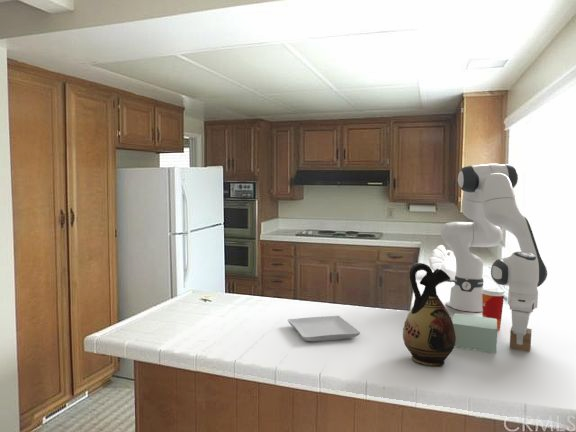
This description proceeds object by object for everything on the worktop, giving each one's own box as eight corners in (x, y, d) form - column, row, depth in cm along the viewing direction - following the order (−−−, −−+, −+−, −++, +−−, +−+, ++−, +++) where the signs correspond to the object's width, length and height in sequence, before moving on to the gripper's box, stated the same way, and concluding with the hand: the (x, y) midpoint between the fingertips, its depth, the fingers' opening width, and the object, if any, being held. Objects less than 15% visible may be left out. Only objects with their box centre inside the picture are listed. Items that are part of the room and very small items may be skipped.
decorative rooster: (460, 277, 275) (462, 237, 273) (472, 282, 259) (474, 240, 257) (421, 276, 273) (423, 236, 271) (431, 282, 257) (433, 239, 256)
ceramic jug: (442, 351, 144) (446, 260, 142) (463, 370, 129) (467, 268, 127) (391, 351, 144) (394, 259, 142) (405, 370, 128) (409, 267, 126)
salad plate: (303, 346, 147) (303, 336, 147) (286, 327, 168) (286, 318, 167) (361, 342, 153) (362, 332, 153) (338, 323, 173) (338, 315, 173)
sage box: (453, 334, 162) (454, 313, 162) (495, 341, 157) (496, 318, 156) (450, 346, 150) (451, 323, 149) (496, 353, 144) (497, 329, 143)
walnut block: (511, 342, 154) (511, 325, 154) (530, 346, 151) (531, 329, 151) (509, 347, 149) (510, 330, 149) (529, 351, 146) (530, 333, 146)
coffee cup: (484, 323, 176) (486, 286, 175) (506, 328, 170) (508, 290, 170) (476, 328, 170) (477, 289, 169) (498, 333, 164) (500, 293, 164)
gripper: (514, 293, 160) (512, 331, 161) (509, 305, 142) (507, 347, 143) (534, 296, 156) (532, 334, 157) (531, 308, 139) (529, 351, 140)
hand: (520, 340), depth 150 cm, fingers closed on walnut block, 6 cm apart
